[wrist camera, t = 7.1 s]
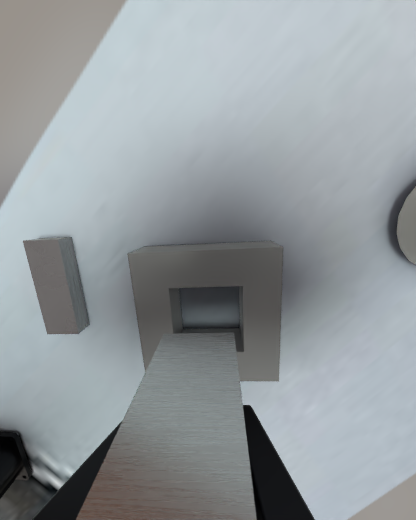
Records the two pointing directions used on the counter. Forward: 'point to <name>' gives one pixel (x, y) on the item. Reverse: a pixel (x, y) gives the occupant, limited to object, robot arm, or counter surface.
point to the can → (408, 227)
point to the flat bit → (57, 284)
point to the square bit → (180, 440)
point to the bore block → (213, 275)
